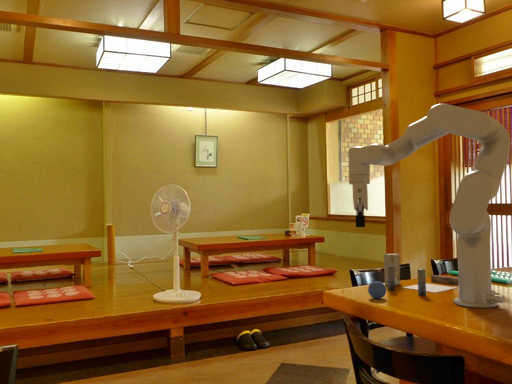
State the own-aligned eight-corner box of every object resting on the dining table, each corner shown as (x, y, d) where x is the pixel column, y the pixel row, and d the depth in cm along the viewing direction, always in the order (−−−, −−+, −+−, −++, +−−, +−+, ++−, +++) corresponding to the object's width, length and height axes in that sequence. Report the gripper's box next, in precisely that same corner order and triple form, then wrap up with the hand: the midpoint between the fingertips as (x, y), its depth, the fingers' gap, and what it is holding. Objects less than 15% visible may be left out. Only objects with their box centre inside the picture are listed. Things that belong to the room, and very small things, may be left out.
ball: (390, 298, 160) (389, 281, 160) (378, 301, 157) (378, 283, 157) (376, 296, 165) (375, 279, 165) (364, 298, 162) (364, 281, 162)
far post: (396, 290, 175) (396, 266, 176) (392, 291, 174) (391, 266, 174) (391, 289, 177) (390, 265, 178) (386, 290, 176) (386, 266, 176)
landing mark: (457, 288, 177) (457, 287, 177) (435, 292, 169) (435, 292, 169) (424, 283, 188) (424, 283, 188) (402, 287, 180) (402, 287, 180)
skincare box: (395, 286, 184) (394, 255, 184) (384, 285, 186) (383, 254, 187) (400, 284, 189) (399, 253, 189) (390, 283, 191) (389, 253, 192)
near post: (427, 295, 165) (426, 269, 165) (423, 296, 163) (422, 270, 163) (421, 294, 167) (420, 268, 167) (416, 295, 165) (416, 269, 165)
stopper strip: (471, 286, 181) (470, 279, 181) (468, 286, 179) (468, 280, 180) (434, 281, 194) (433, 274, 194) (431, 281, 192) (431, 275, 193)
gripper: (370, 178, 164) (371, 227, 164) (369, 180, 181) (370, 225, 181) (348, 179, 166) (349, 227, 165) (349, 181, 183) (350, 225, 182)
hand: (360, 226), depth 173 cm, fingers open, 9 cm apart
